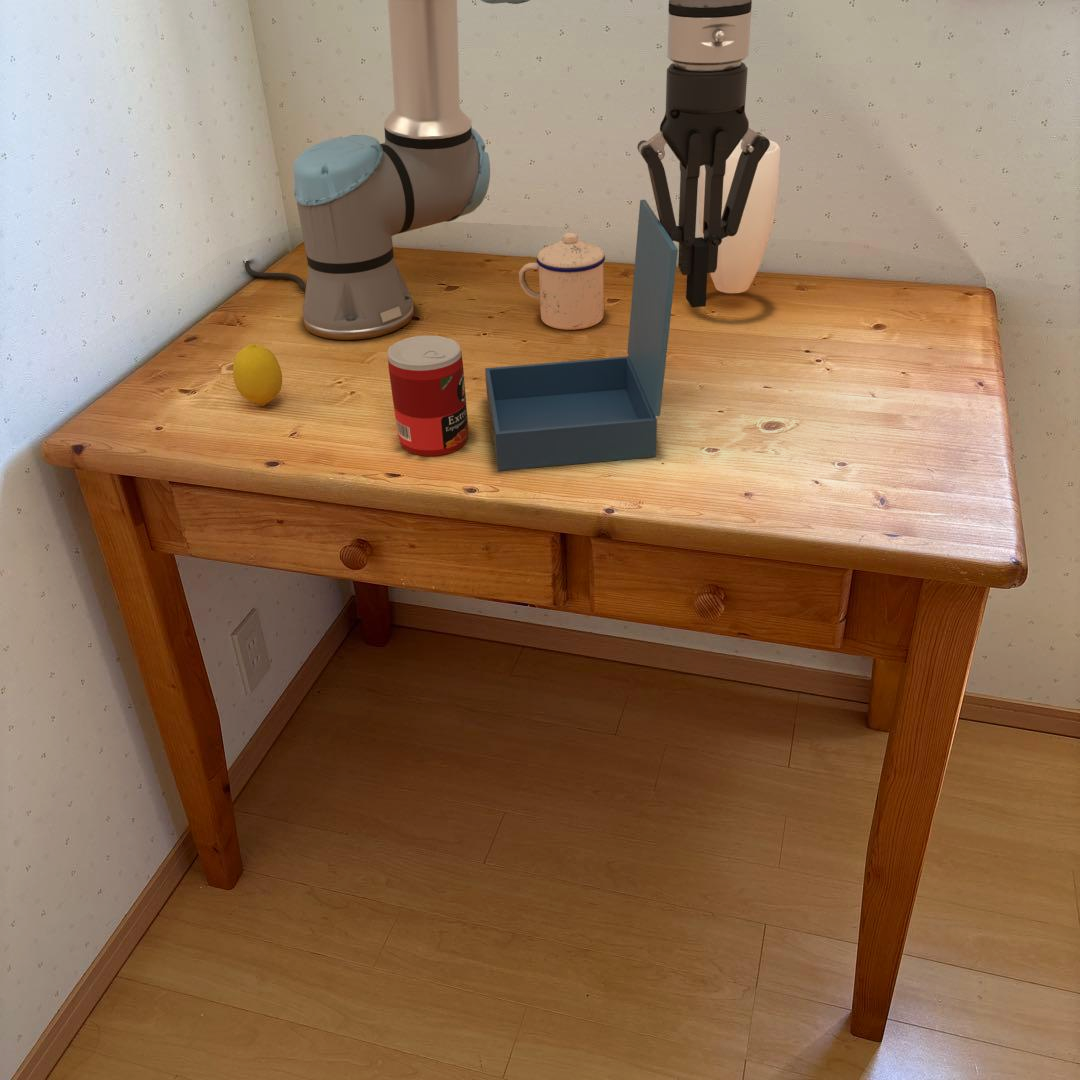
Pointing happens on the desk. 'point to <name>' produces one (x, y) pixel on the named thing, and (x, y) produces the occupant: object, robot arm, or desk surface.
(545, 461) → the box
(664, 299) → the lunchbox lid
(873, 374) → the desk surface
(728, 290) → the cup
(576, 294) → the teacup with lid
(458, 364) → the canned food
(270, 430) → the desk surface
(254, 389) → the lemon
